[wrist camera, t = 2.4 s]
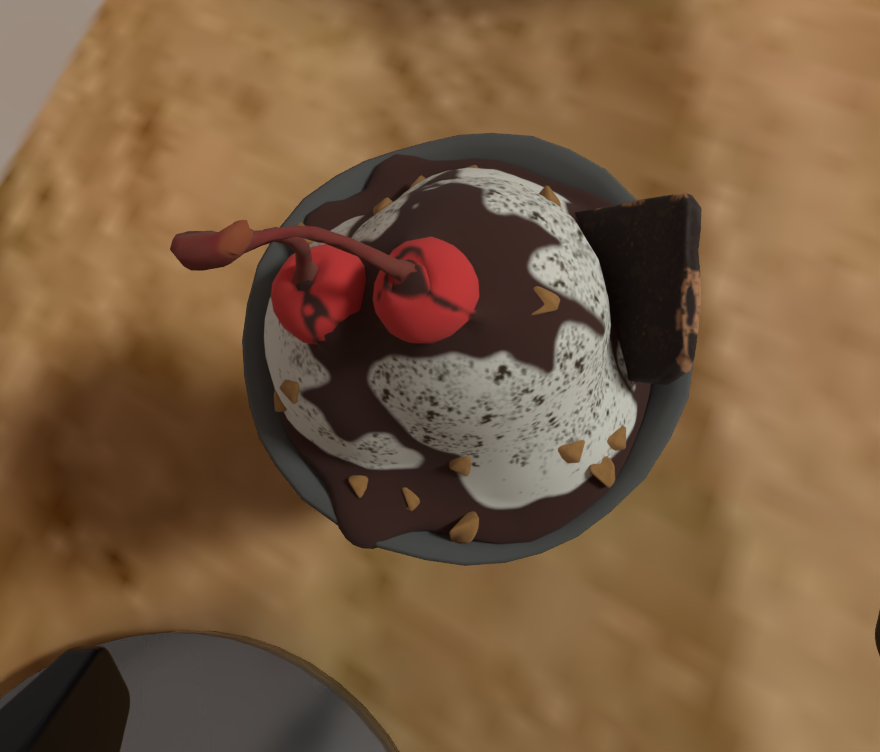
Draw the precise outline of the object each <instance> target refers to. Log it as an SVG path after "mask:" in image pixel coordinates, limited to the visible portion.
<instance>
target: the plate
mask: <svg viewBox="0 0 880 752" xmlns="http://www.w3.org/2000/svg"><path fill="white" fill-rule="evenodd" d="M95 646H103V647H105V648H106V649H108V650H109V652H110V653H111V655H112V657H113V659H114V661H115V663H116V665H117V667H118V669H119V671H120V673H121V675H122V677H123V679H124V681H125V683H126V685H127V687H128V690H129V694H130V710H129V715H128V719H127V724H126V728H125V732H124V737H123V741H122V745H121V749H120V752H399V750H398V749H397V747H396V746H395V744H394V743H393V741H392V740H391V738H390V736H389V735H388V734H387V732H386V731H385V730H384V729H383V728H382V726H381V725H380V724H379V723H378V722H377V720H376V719H375V718H374V717H373V716H372V715H371V713H370V712H369V711H368V710H367V709H366V707H365V706H364V705H363V704H362V703H361V702H359V701H358V700H357V699H356V698H355V697H354V696H353V695H352V694H351V693H350V692H348V691H347V690H346V689H345V688H344V687H343V686H342V685H341V684H340V683H339V682H337V681H336V680H334V679H333V678H332V677H330V676H329V675H327V674H326V673H324V672H323V671H321V670H320V669H318V668H317V667H316V666H314V665H313V664H311V663H310V662H308V661H306V660H304V659H302V658H300V657H298V656H296V655H294V654H292V653H290V652H288V651H286V650H284V649H282V648H280V647H277V646H274V645H271V644H268V643H265V642H262V641H259V640H256V639H253V638H249V637H246V636H240V635H234V634H228V633H222V632H216V631H185V630H182V631H173V632H165V633H156V634H148V635H140V636H133V637H126V638H122V639H118V640H115V641H111V642H107V643H103V644H99V645H95ZM46 668H47V667H46ZM46 668H44V669H43V670H41V671H39V672H37V673H36V674H34V675H32V676H30V677H29V678H27V679H26V680H24V681H23V682H22V683H20V684H19V685H17V686H16V687H15V688H13V689H12V690H11V691H9V692H8V693H7V694H5V695H4V696H3V697H1V698H0V709H1V708H2V707H3V706H4V705H5V704H6V703H7V702H8V701H10V700H11V699H12V698H13V697H14V696H15V695H16V694H18V693H19V692H20V691H21V690H22V689H23V688H24V687H25V686H27V685H28V684H29V683H30V682H31V681H32V680H33V679H35V678H36V677H37V676H38V675H39V674H40V673H41V672H43V671H44V670H45V669H46Z"/></svg>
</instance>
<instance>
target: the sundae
mask: <svg viewBox="0 0 880 752" xmlns="http://www.w3.org/2000/svg"><path fill="white" fill-rule="evenodd" d="M700 231H701V207H700V206H699V204H698V203H697V201H696V200H695V199H694V197H693V196H692V195H690V194H687V193H681V194H675V195H668V196H662V197H655V198H649V199H642V200H636V199H635V198H634V197H633V196H632V195H631V194H630V193H629V192H628V191H627V190H626V189H625V188H624V187H623V186H622V185H621V184H620V183H619V182H618V181H617V180H616V179H615V178H614V177H613V176H612V175H611V174H610V173H609V172H608V171H607V170H606V169H604V168H602V167H600V166H598V165H597V164H595V163H593V162H591V161H589V160H588V159H586V158H584V157H582V156H581V155H579V154H577V153H575V152H573V151H572V150H570V149H567V148H564V147H561V146H558V145H556V144H553V143H550V142H547V141H544V140H542V139H539V138H536V137H533V136H525V135H511V134H497V133H485V134H468V135H457V136H452V137H448V138H444V139H439V140H435V141H430V142H426V143H422V144H418V145H415V146H411V147H408V148H404V149H400V150H397V151H394V152H390V153H387V154H384V155H381V156H378V157H375V158H372V159H369V160H366V161H364V162H362V163H360V164H358V165H356V166H354V167H352V168H350V169H348V170H346V171H344V172H342V173H341V174H339V175H337V176H335V177H334V178H332V179H331V180H329V181H328V182H326V183H325V184H324V185H322V186H321V187H319V188H318V189H316V190H315V191H314V192H312V193H311V194H309V195H308V196H307V197H305V198H304V199H303V200H302V201H301V202H300V203H299V205H298V206H297V207H296V208H295V209H294V211H293V212H292V213H291V214H290V216H289V217H288V218H287V219H286V220H285V222H284V223H283V224H282V225H281V226H280V228H278V227H274V228H269V229H264V230H262V231H254V230H252V229H250V228H249V225H248V222H247V220H240V221H236V222H234V223H233V224H231V225H230V226H228V227H226V228H225V229H223V230H221V231H220V232H214V231H188V232H184V233H180V234H176V235H175V237H174V238H173V241H172V244H171V248H170V250H171V251H172V253H173V254H174V255H175V256H176V257H177V259H178V260H179V261H180V262H181V264H182V265H183V266H184V267H186V268H188V269H190V270H208V269H214V268H219V267H224V266H226V265H228V264H230V263H232V262H233V261H234V260H236V259H237V258H239V257H240V256H241V255H242V254H244V253H246V252H249V251H251V250H253V249H255V248H258V247H260V246H262V245H265V244H269V243H270V244H269V246H268V248H267V249H266V251H265V253H264V255H263V256H262V258H261V260H260V262H259V263H258V265H257V269H256V273H255V277H254V280H253V284H252V288H251V292H250V295H249V299H248V303H247V309H246V316H245V324H244V331H243V339H242V345H243V362H244V377H245V383H246V389H247V394H248V400H249V406H250V410H251V413H252V416H253V419H254V422H255V426H256V429H257V432H258V435H259V438H260V440H261V442H262V444H263V445H264V447H265V449H266V450H267V452H268V454H269V455H270V457H271V459H272V460H273V462H274V464H275V466H276V467H277V468H278V470H279V471H280V472H281V473H282V475H283V476H284V477H285V478H286V480H287V481H288V482H289V483H290V485H291V486H292V487H293V489H294V490H295V491H296V492H297V494H298V495H299V496H300V497H301V499H302V500H304V501H305V502H306V503H308V504H309V505H311V506H312V507H313V508H315V509H316V510H317V511H319V512H320V513H321V514H323V515H324V516H326V517H327V518H328V519H330V520H331V521H332V522H334V523H335V524H337V525H338V526H339V529H340V530H341V532H342V533H343V535H344V536H345V538H346V539H347V540H348V541H350V542H351V543H352V544H353V545H356V546H358V547H361V548H368V549H374V548H377V547H378V548H382V549H385V550H389V551H393V552H397V553H401V554H405V555H408V556H412V557H416V558H420V559H424V560H429V561H436V562H443V563H450V564H457V565H464V566H467V565H480V564H494V563H506V562H510V561H514V560H517V559H521V558H525V557H529V556H533V555H537V554H541V553H543V552H545V551H547V550H550V549H552V548H554V547H556V546H558V545H560V544H563V543H565V542H567V541H569V540H571V539H573V538H576V537H578V536H579V535H580V534H582V533H583V532H584V531H586V530H587V529H588V528H590V527H591V526H592V525H594V524H595V523H596V522H598V521H599V520H600V519H602V518H603V517H604V516H605V515H607V514H608V513H609V512H611V511H612V510H613V509H614V508H615V507H616V506H617V505H618V504H619V503H620V502H621V501H622V500H623V499H624V498H625V497H626V496H627V495H628V494H629V493H631V492H632V491H633V490H634V489H635V488H636V487H637V486H638V485H639V484H640V483H641V482H642V481H643V480H644V479H645V478H646V476H647V475H648V473H649V472H650V470H651V468H652V467H653V465H654V464H655V462H656V460H657V459H658V457H659V456H660V454H661V452H662V451H663V449H664V448H665V446H666V444H667V443H668V441H669V440H670V438H671V436H672V433H673V431H674V429H675V427H676V424H677V422H678V420H679V418H680V415H681V413H682V411H683V409H684V406H685V404H686V402H687V400H688V397H689V390H690V383H691V376H692V369H693V362H694V357H695V350H696V343H697V336H698V329H699V316H700V303H701V283H700V265H699V255H698V248H699V239H700Z"/></svg>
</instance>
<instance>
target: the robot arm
mask: <svg viewBox="0 0 880 752" xmlns="http://www.w3.org/2000/svg"><path fill="white" fill-rule="evenodd" d="M875 641H876V646H877V650H878V653H879V655H880V611H879V616H878V620H877V624H876V629H875ZM129 710H130V694H129V690H128V687H127V685H126V683H125V681H124V679H123V677H122V675H121V673H120V671H119V669H118V667H117V665H116V663H115V661H114V659H113V657H112V655H111V653H110V652H109V650H108V649H106V648H105V647H103V646H89V647H77V648H72V649H69V650H68V651H66V652H65V653H63V654H62V655H61V656H60V657H58V658H57V659H56V660H55V661H54V662H53V663H52V664H50V665H49V666H48V667H47V668H46V669H45V670H44V671H43V672H41V673H40V674H39V675H38V676H37V677H36V678H35V679H33V680H32V681H31V682H30V683H29V684H28V685H27V686H25V687H24V688H23V689H22V690H21V691H20V692H19V693H18V694H16V695H15V696H14V697H13V698H12V699H11V700H10V701H8V702H7V703H6V704H5V705H4V706H3V707H2V708H1V709H0V752H120V749H121V745H122V741H123V737H124V732H125V728H126V724H127V719H128V715H129Z"/></svg>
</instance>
